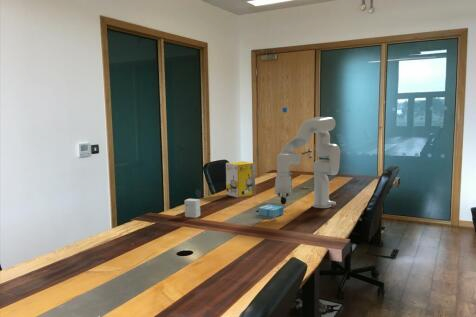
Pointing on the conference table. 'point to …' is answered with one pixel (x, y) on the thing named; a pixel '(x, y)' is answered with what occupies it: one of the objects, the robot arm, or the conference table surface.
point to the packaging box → (240, 179)
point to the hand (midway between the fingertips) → (283, 203)
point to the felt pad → (263, 216)
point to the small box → (192, 208)
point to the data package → (271, 210)
